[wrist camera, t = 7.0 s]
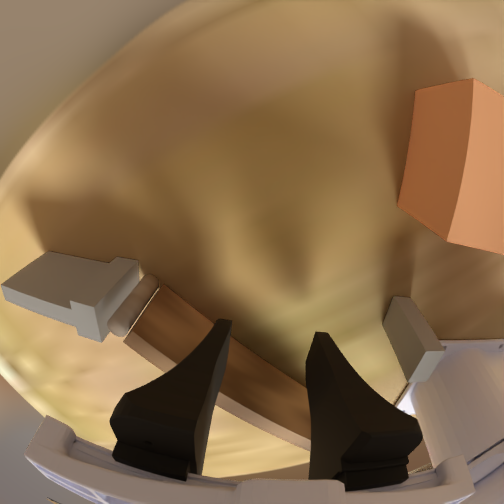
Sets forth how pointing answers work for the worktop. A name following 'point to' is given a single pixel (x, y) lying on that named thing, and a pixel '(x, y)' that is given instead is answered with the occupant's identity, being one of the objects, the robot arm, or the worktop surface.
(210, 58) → the worktop surface
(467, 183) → the terracotta rectangular block
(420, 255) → the worktop surface
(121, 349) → the worktop surface
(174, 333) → the gate door
